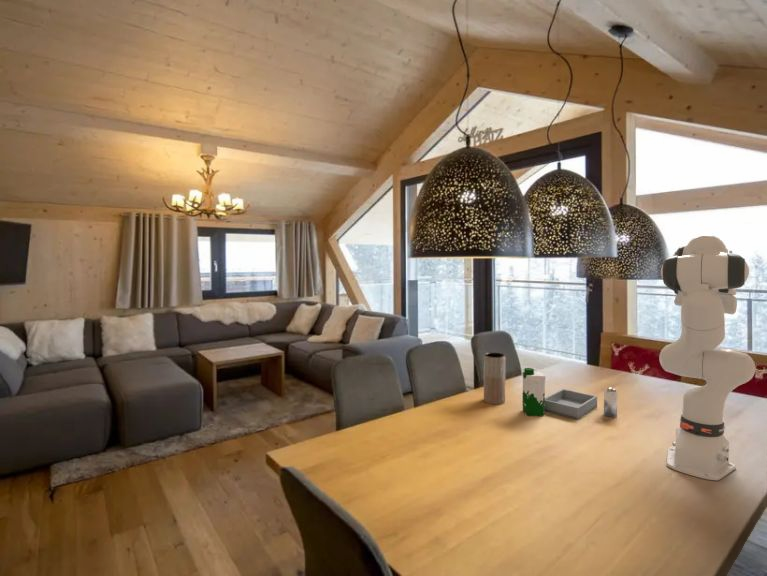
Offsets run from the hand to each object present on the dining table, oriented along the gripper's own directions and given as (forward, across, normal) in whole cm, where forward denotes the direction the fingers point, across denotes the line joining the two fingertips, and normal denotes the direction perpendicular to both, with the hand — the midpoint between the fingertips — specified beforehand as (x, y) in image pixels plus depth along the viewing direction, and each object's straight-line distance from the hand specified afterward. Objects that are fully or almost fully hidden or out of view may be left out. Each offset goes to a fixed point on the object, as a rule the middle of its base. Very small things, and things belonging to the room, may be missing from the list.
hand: (700, 320), depth 173 cm
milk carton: (+53, -45, -32) cm, 77 cm away
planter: (+56, -66, -32) cm, 92 cm away
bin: (+50, -38, -14) cm, 64 cm away
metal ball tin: (+48, -22, -9) cm, 53 cm away
